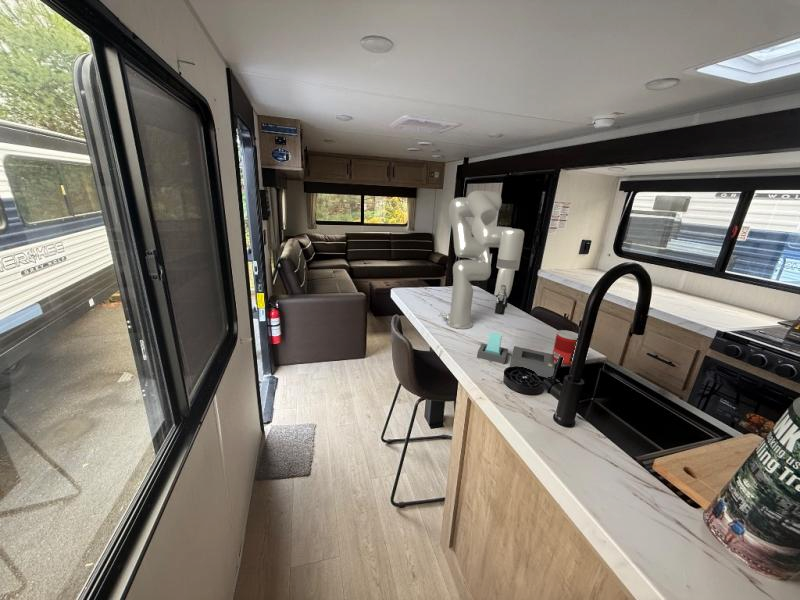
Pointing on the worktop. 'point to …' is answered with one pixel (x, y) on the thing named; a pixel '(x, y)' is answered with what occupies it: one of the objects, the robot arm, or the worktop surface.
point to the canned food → (565, 345)
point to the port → (533, 361)
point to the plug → (494, 343)
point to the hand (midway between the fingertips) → (500, 310)
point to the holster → (492, 354)
